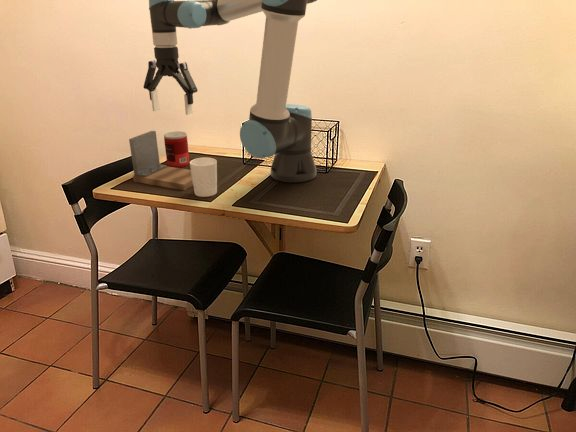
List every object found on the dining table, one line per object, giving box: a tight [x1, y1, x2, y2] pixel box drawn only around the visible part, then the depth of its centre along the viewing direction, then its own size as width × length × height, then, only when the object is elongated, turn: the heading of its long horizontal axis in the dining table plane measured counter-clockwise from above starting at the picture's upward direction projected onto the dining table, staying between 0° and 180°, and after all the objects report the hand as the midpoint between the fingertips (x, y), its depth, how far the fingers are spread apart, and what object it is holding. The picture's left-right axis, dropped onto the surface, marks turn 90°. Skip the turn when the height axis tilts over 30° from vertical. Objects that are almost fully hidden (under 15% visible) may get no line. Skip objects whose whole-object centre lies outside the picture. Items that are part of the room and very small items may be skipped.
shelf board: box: [132, 165, 194, 191], centre depth 161 cm, size 20×12×2 cm, turn 65°
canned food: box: [163, 131, 190, 169], centre depth 173 cm, size 8×8×11 cm
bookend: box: [128, 130, 168, 177], centre depth 161 cm, size 5×11×12 cm, turn 155°
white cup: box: [189, 157, 218, 198], centre depth 149 cm, size 8×8×10 cm
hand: (172, 112), depth 168 cm, fingers open, 13 cm apart
